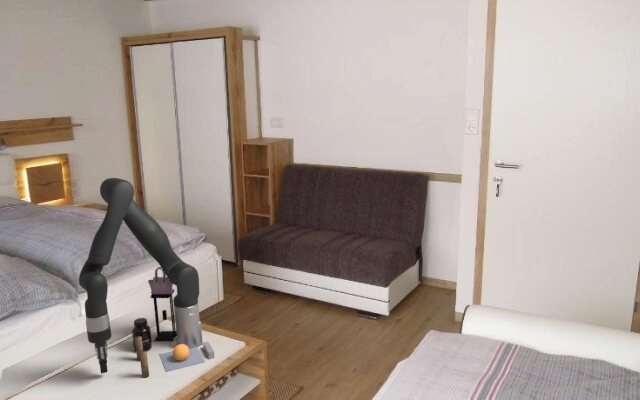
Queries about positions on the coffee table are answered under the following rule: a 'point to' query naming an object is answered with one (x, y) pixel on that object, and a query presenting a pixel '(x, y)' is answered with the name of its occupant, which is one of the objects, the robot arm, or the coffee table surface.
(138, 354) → the post
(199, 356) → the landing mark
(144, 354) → the post
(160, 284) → the handbag on black stand
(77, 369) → the coffee table surface
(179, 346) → the ball
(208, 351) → the wall
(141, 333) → the supplement bottle
